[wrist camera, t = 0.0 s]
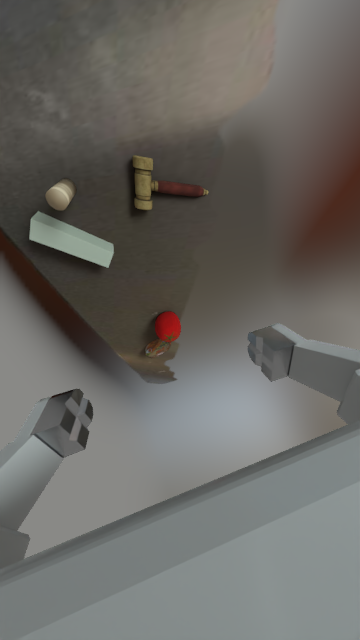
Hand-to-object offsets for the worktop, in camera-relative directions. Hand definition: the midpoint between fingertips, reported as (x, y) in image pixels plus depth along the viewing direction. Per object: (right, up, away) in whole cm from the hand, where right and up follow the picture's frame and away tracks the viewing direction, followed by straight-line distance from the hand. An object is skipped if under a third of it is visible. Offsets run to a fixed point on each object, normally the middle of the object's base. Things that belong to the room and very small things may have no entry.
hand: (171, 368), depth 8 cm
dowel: (-26, +34, +32) cm, 53 cm away
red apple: (-7, +4, +72) cm, 73 cm away
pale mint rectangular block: (-29, +26, +40) cm, 55 cm away
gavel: (-2, +39, +38) cm, 54 cm away
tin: (-13, -9, +84) cm, 86 cm away
